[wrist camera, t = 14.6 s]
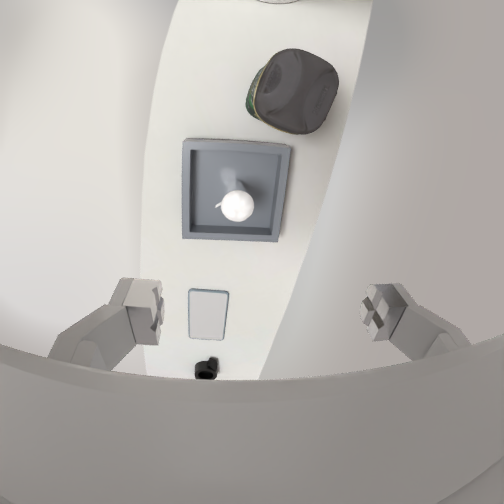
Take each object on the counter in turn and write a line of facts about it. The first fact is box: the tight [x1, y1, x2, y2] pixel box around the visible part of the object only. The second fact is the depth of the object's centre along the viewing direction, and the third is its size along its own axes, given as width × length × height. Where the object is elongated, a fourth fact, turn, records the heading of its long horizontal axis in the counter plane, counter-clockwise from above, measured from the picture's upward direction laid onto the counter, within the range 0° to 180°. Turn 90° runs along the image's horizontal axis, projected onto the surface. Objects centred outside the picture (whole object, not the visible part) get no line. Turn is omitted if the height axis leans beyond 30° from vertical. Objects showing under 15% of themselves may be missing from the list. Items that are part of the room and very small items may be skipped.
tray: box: [182, 138, 291, 242], centre depth 44 cm, size 16×16×4 cm
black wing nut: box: [195, 358, 217, 380], centre depth 68 cm, size 8×10×3 cm
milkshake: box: [215, 180, 254, 222], centre depth 41 cm, size 5×5×10 cm
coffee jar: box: [246, 49, 339, 135], centre depth 30 cm, size 10×8×19 cm
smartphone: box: [188, 289, 229, 340], centre depth 60 cm, size 8×1×15 cm
